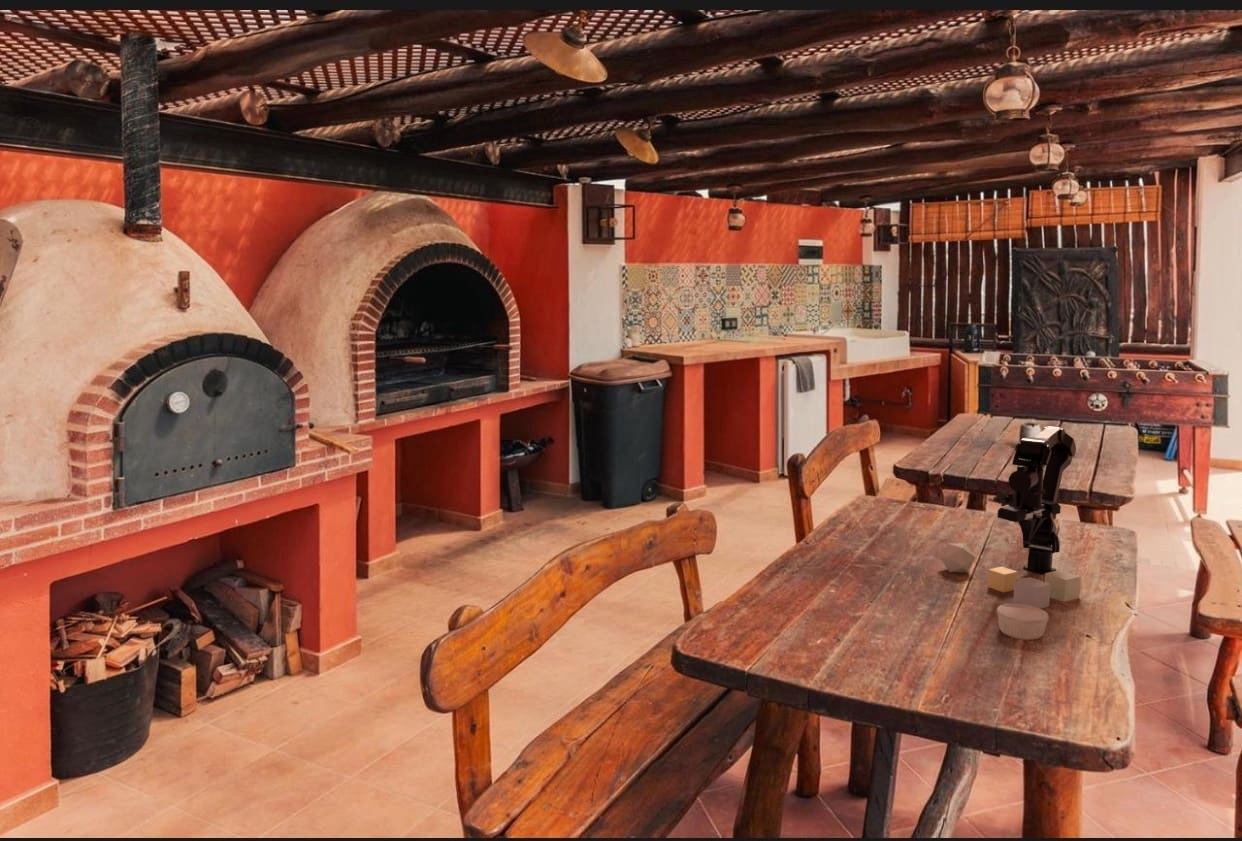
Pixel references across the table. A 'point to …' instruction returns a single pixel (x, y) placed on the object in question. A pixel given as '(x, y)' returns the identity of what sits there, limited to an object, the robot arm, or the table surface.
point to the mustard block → (1002, 579)
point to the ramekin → (1022, 621)
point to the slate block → (1032, 592)
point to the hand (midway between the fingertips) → (1027, 541)
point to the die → (957, 557)
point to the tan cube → (1063, 585)
